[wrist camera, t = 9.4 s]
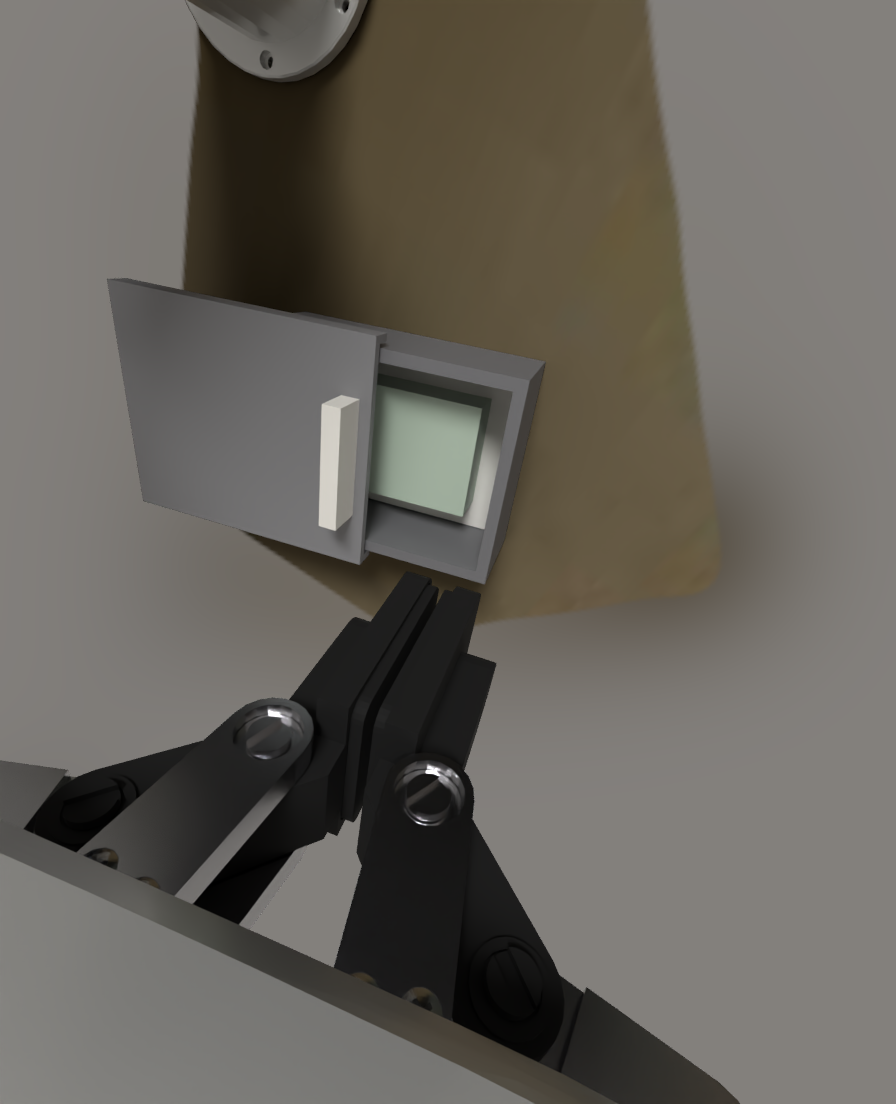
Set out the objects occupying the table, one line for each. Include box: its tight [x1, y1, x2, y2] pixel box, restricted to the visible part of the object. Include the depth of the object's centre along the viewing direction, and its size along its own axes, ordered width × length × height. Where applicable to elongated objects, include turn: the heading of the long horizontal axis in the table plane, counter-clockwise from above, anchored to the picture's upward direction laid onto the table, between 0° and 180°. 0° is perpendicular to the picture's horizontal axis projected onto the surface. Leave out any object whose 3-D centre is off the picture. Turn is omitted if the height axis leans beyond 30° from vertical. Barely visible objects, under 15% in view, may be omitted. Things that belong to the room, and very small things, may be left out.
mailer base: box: [294, 312, 546, 584], centre depth 38 cm, size 14×18×7 cm
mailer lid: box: [107, 278, 387, 565], centre depth 35 cm, size 16×18×4 cm
